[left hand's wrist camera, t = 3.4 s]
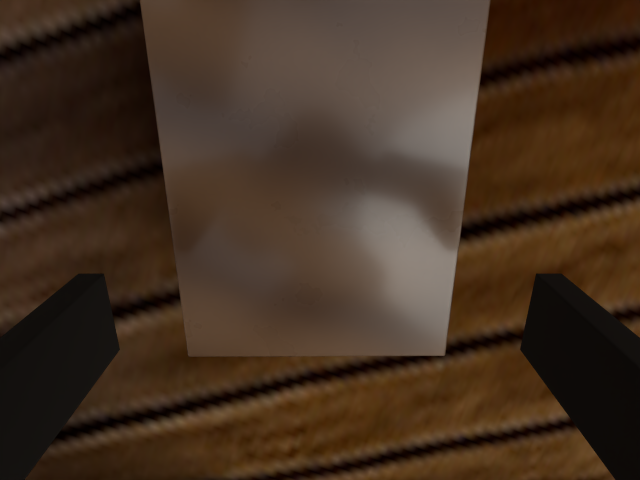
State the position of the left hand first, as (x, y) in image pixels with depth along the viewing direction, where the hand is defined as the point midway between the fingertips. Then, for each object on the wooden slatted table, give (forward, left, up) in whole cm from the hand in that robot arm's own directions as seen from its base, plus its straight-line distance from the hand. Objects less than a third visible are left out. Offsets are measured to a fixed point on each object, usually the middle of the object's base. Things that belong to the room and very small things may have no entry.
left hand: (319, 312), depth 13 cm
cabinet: (+1, +5, -13) cm, 14 cm away
